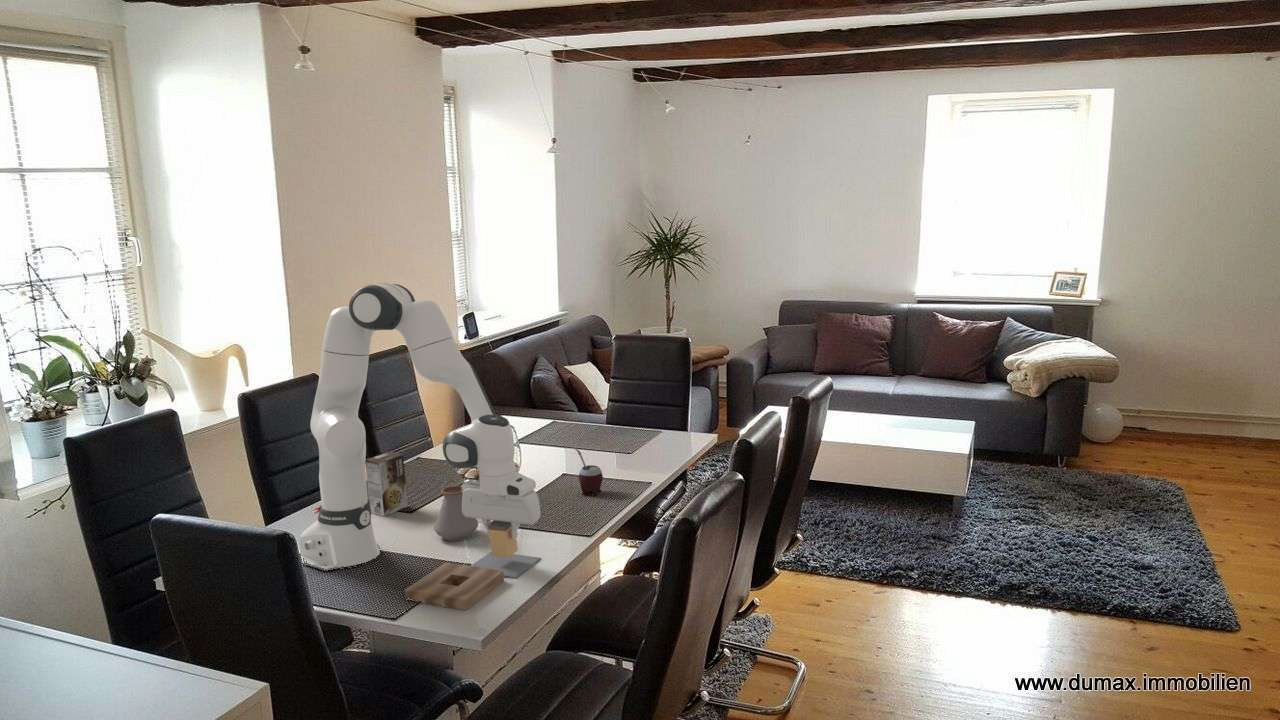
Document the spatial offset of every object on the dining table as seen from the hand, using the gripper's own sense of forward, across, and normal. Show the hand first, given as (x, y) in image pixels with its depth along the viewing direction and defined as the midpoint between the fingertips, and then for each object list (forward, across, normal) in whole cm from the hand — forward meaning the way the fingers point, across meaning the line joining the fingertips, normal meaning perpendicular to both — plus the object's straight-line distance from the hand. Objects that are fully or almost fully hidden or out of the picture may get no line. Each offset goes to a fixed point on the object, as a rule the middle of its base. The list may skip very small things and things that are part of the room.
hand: (502, 536), depth 225 cm
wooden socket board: (+7, -3, -16) cm, 18 cm away
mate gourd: (+8, -3, +54) cm, 54 cm away
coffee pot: (+7, -22, +18) cm, 29 cm away
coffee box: (+7, -53, +24) cm, 59 cm away
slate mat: (+7, 0, 0) cm, 7 cm away
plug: (+4, 0, 0) cm, 4 cm away
